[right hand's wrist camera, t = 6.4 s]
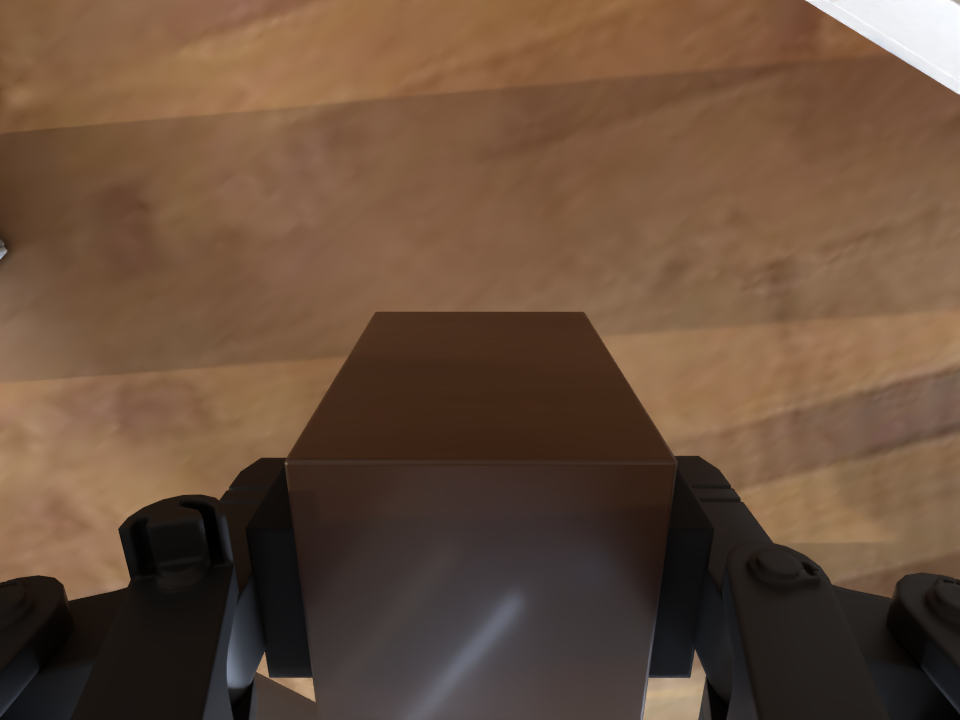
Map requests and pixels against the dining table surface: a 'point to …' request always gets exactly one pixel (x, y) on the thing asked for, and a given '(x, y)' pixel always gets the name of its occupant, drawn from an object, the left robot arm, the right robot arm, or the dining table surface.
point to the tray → (908, 31)
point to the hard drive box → (2, 249)
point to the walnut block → (480, 523)
